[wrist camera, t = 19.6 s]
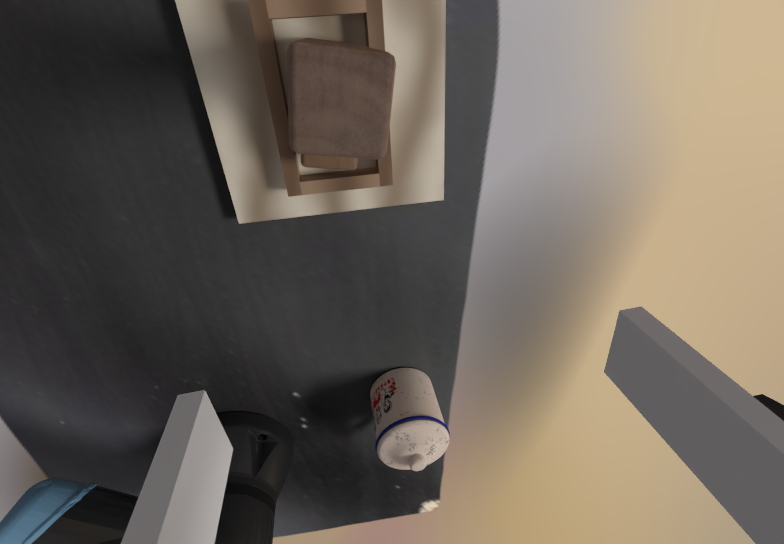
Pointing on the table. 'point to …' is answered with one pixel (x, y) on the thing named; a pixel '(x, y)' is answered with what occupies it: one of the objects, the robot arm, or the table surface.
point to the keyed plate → (270, 101)
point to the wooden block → (338, 102)
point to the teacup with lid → (407, 420)
